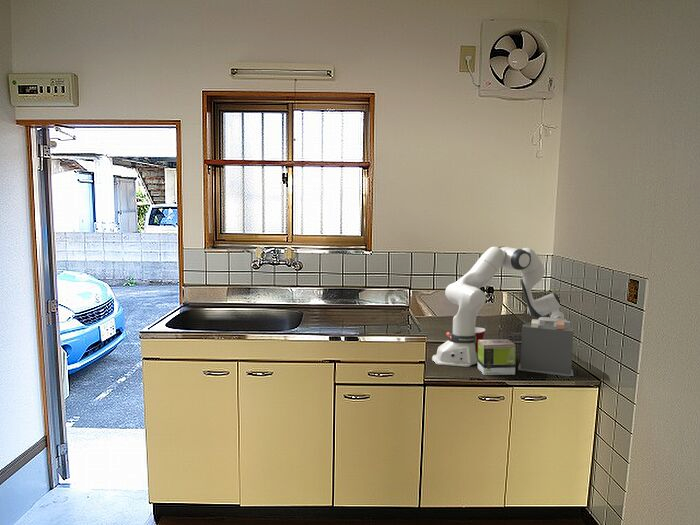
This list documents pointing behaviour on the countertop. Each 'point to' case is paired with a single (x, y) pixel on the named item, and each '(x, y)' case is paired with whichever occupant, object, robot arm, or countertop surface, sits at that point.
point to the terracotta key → (560, 325)
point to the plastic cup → (479, 336)
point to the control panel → (546, 350)
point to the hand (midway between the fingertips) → (559, 326)
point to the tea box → (496, 357)
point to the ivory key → (535, 323)
